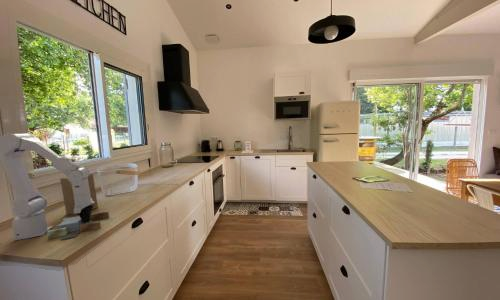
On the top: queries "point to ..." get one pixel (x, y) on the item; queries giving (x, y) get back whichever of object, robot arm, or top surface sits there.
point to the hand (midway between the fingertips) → (86, 222)
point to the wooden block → (69, 194)
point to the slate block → (71, 224)
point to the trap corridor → (82, 227)
